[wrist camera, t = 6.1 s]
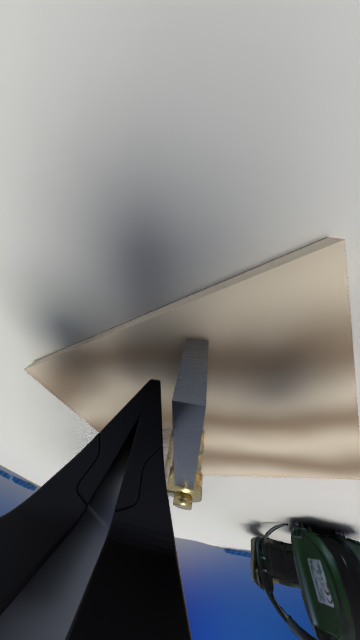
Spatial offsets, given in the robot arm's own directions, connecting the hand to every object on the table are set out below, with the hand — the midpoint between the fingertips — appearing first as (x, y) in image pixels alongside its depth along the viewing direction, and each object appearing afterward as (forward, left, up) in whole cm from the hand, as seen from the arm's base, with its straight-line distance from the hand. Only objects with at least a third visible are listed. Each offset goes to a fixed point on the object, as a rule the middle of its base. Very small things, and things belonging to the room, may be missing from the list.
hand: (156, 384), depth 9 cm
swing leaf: (-4, 0, -1) cm, 4 cm away
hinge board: (-7, +1, -3) cm, 7 cm away
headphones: (-41, -2, -3) cm, 41 cm away
